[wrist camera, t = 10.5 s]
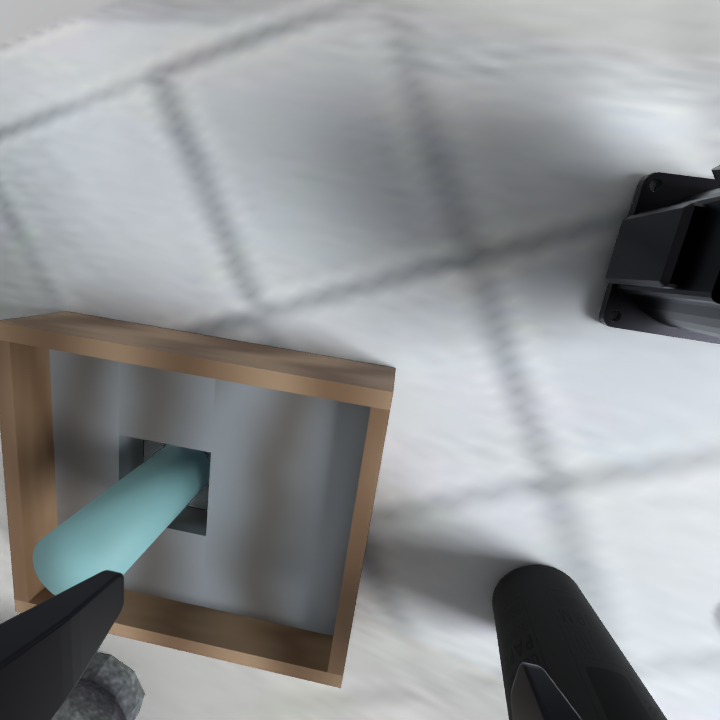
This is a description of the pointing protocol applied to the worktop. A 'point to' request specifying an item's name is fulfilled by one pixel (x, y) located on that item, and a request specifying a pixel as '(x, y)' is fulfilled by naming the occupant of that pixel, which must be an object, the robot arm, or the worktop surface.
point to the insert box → (226, 482)
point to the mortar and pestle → (103, 693)
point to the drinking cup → (566, 646)
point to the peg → (121, 519)
